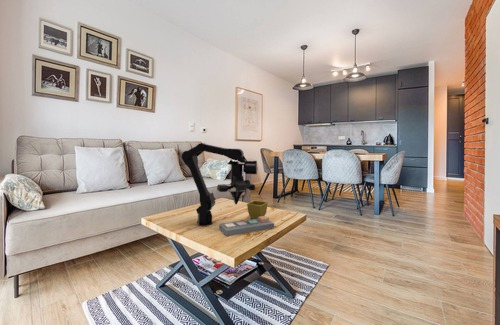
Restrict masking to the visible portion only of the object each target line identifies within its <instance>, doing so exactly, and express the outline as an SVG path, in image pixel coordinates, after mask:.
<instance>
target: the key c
mask: <svg viewBox="0 0 500 325" xmlns="http://www.w3.org/2000/svg"><path fill="white" fill-rule="evenodd" d="M248 220H249V221H247V223H248V224H250V225H253V224H258V222H257V221H255V220H251V219H248Z"/></svg>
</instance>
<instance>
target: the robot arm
mask: <svg viewBox="0 0 500 325" xmlns="http://www.w3.org/2000/svg"><path fill="white" fill-rule="evenodd" d="M204 152H205V153H210V154H211V153H212V154H214V155H219V156H224V157H226V158H227V159H230V160H229V161H228V162H227V163H226V164H227V165H228V166H229V165H230V166H231V167H230V176H229V177H230V184H229V185H227V184H224V183H223V184H217V186H216V189H217V191H218V192H220V193H226V192H229V193H230V195H231V197H232V200H233V203H234V204H235V205H238V203H239V200H240V198H241V195H242V194H243V193H245V192H246V190H249V191H256V186H255V184H254V183H251V181H250V180H249V179H246V180H244V175H243V173H245V175H258V168H259V167H258V160H247V158H246V157H245V155H244V154H245V153H244V151H243V150H242V149H241V148H225V147H221V146H217V145H212V144H207V143H205V142H200V143H198V144H197V145H195V146H194V147H192V148H190V149H189V150H184V151H183V152H182V153H181V160H182V161H183V163H184V165H185V166H186V167H187V168H188V169H189V171H190V173H191V177H192V179H193V182H194V184H195V186H196V189H197V192H198V194H199V204H200V205H199V206H198V207H197V208H196V213H197V221H196V222H197V224H198V226H207V225H208V226H209V225H213V214H212V211H211V210H212V208H213V207H214V206H216V205H215V204H216V200H217V199H216V198H215V195H214V193H213V192H209V190H208V187H207V185H206V182H205V179H204V178H203V175H202V173H201V170H200V167H199V159H198V157H199V156H201V154H203V153H204Z"/></svg>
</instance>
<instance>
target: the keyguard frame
mask: <svg viewBox="0 0 500 325" xmlns="http://www.w3.org/2000/svg"><path fill="white" fill-rule="evenodd" d="M249 220H255V221H257V222H258V219H245V220H239V221H231V222H230V221H229V222H224V223H223V222H222V223H219V224H218V225H219V228H218V229H219V230H220V231H221V232H222V233H223V234H224V236H225V237H230V236H235V235H236V236H237V235H242V234H248V233H254V232H259V231H266V230H272V229H275V223H274V222H273V221H271V220H269V222H266V223H260V222H258V224H253V225H250V224H248V223H247V221H249ZM242 221H244V222H245V223H247V226H240V227H239V226H237V225H236V222H242ZM228 223H233V224H234V225H235V227H234V228H226V227H225V226H224V224H228Z"/></svg>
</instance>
